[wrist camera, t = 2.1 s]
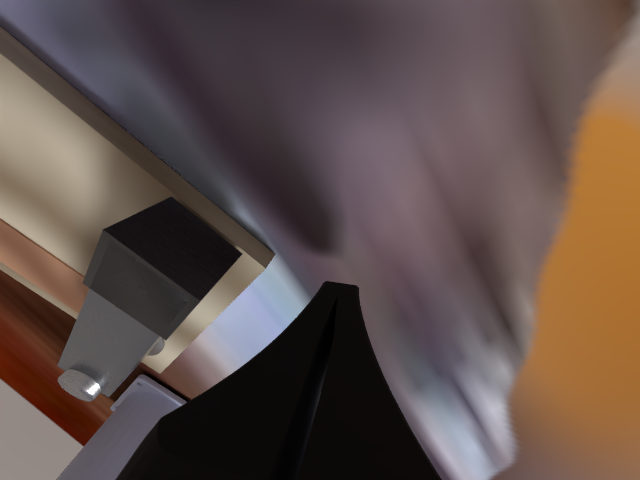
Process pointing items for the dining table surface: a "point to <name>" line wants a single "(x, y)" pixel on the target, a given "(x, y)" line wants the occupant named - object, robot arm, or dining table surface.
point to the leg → (140, 293)
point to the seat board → (89, 194)
